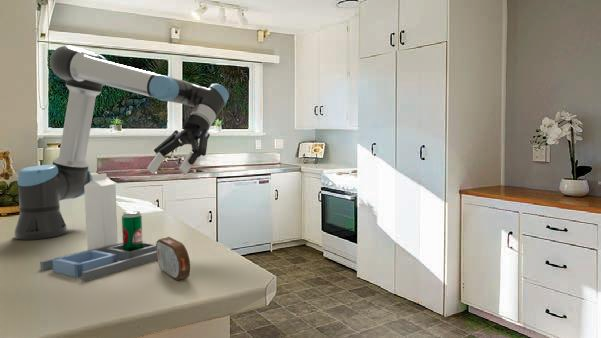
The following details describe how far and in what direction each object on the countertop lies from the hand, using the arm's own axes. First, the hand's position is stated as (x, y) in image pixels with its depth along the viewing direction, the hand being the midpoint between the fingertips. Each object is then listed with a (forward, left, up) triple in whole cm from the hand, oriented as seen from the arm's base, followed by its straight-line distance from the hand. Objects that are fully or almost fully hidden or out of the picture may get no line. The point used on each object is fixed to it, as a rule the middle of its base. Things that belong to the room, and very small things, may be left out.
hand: (165, 171), depth 129 cm
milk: (-15, -12, -23) cm, 29 cm away
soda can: (0, -13, -23) cm, 26 cm away
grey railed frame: (0, -20, -22) cm, 30 cm away
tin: (+23, -20, -23) cm, 38 cm away
